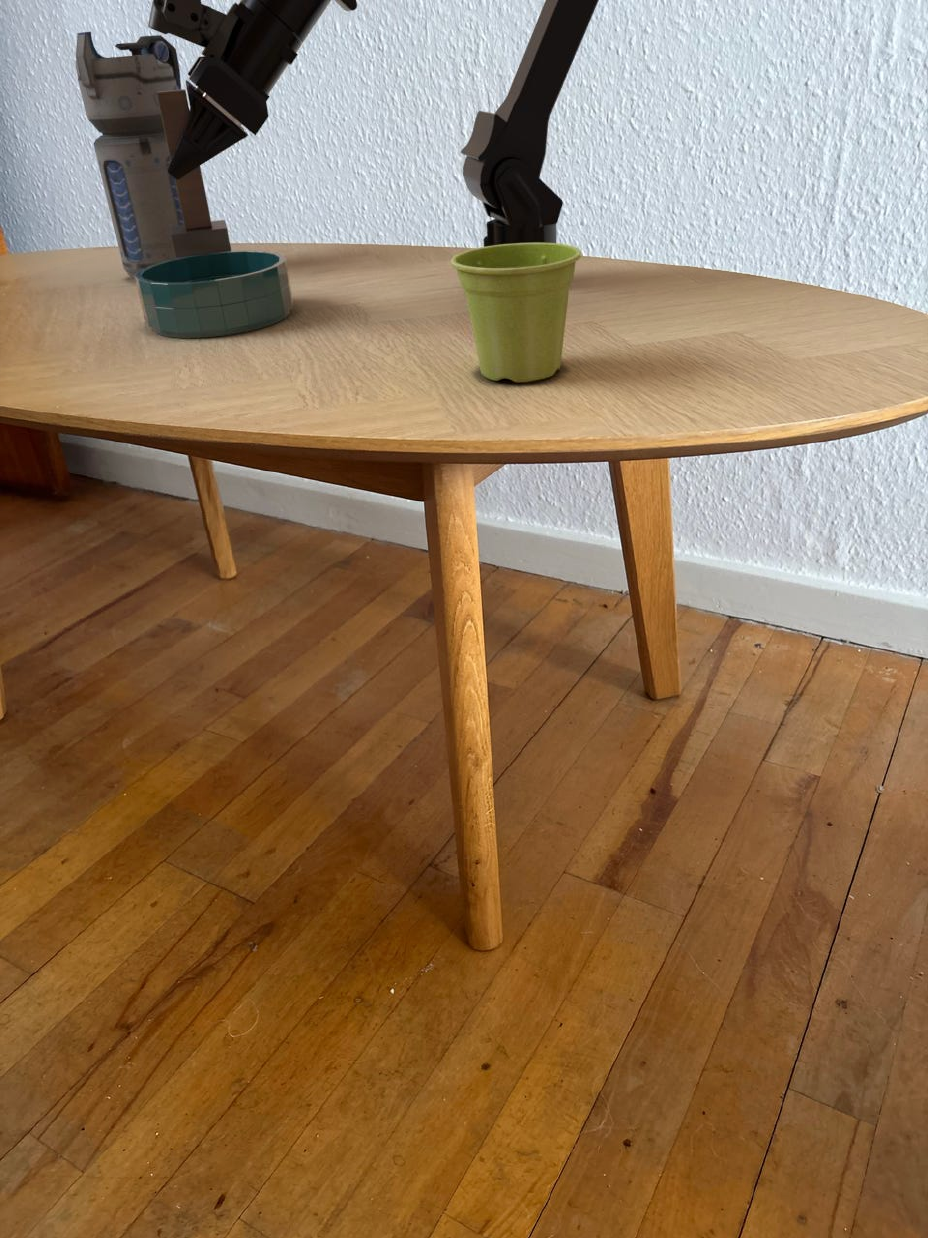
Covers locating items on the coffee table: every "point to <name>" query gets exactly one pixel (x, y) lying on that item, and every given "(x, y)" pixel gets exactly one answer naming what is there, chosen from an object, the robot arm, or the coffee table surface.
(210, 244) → the brown post on base
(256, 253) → the bowl
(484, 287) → the plant pot
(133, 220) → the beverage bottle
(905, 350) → the coffee table surface
